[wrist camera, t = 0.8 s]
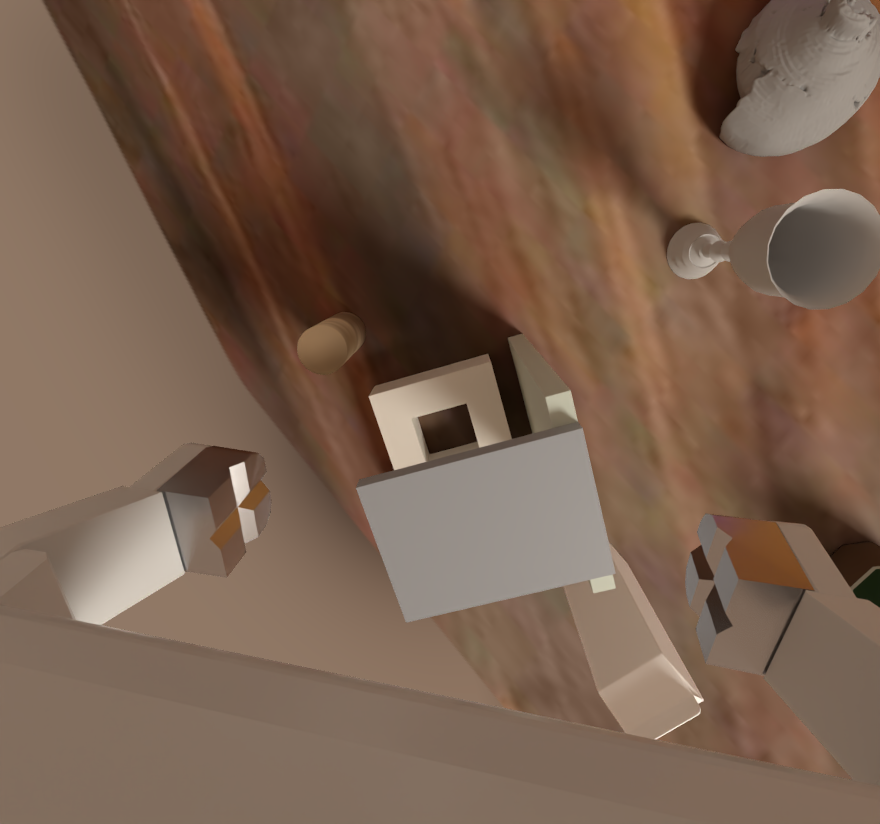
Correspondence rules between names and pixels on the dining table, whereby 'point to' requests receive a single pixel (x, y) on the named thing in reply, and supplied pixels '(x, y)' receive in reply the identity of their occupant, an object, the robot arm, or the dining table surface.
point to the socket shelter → (484, 491)
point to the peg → (331, 343)
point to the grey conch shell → (802, 73)
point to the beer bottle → (860, 569)
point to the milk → (632, 656)
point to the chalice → (792, 249)
